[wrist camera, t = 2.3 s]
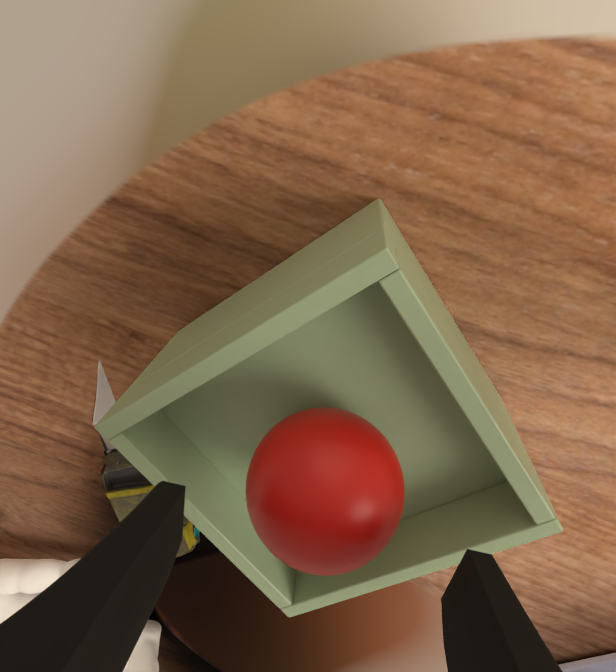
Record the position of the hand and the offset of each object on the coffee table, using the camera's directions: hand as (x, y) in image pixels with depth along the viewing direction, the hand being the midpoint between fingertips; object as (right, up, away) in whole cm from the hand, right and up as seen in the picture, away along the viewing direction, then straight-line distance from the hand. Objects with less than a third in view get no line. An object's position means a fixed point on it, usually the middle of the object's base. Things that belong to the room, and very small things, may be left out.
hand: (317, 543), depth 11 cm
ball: (0, +1, +2) cm, 2 cm away
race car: (-8, -3, +13) cm, 16 cm away
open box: (+1, +4, +8) cm, 9 cm away
